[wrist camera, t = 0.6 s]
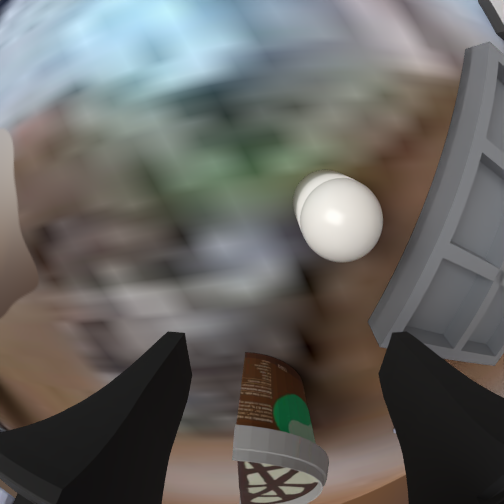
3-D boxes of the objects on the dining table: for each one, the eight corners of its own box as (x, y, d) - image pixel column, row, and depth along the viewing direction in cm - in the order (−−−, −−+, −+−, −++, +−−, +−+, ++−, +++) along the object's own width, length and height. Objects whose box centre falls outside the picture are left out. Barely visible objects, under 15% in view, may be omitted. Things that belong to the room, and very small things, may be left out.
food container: (307, 428, 25) (313, 514, 16) (246, 428, 25) (238, 514, 16) (327, 337, 21) (354, 451, 11) (245, 337, 21) (231, 455, 12)
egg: (366, 183, 16) (409, 205, 11) (342, 242, 18) (373, 286, 12) (305, 159, 16) (326, 169, 11) (283, 222, 18) (291, 261, 12)
